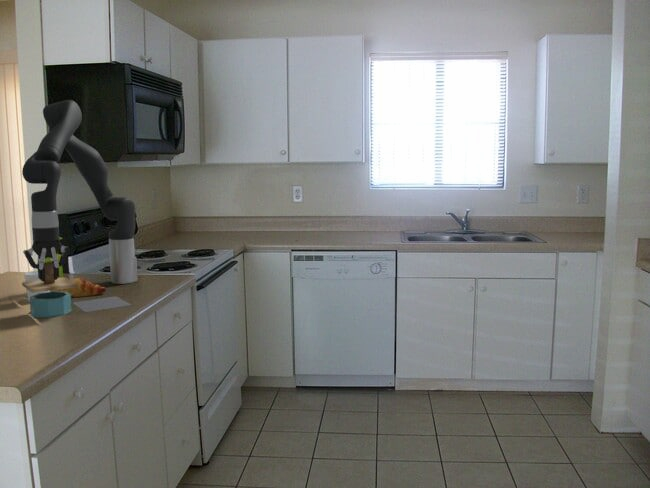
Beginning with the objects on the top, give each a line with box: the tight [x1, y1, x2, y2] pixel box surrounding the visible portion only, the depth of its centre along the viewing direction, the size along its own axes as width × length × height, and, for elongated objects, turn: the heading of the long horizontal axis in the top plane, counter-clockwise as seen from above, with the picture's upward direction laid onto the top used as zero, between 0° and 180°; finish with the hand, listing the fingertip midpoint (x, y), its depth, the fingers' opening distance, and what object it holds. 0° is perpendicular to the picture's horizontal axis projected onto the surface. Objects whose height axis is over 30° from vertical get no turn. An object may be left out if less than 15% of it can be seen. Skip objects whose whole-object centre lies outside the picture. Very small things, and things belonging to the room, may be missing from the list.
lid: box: [21, 262, 77, 293], centre depth 191 cm, size 13×13×8 cm
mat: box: [71, 295, 132, 313], centre depth 204 cm, size 15×15×1 cm
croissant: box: [50, 277, 107, 298], centre depth 217 cm, size 21×10×8 cm, turn 91°
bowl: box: [29, 291, 73, 320], centre depth 193 cm, size 11×11×6 cm
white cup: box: [24, 270, 50, 302], centre depth 209 cm, size 8×8×10 cm
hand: (48, 279), depth 192 cm, fingers closed on lid, 3 cm apart
